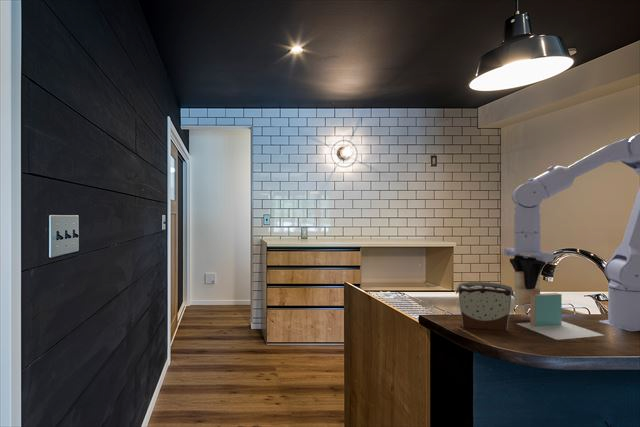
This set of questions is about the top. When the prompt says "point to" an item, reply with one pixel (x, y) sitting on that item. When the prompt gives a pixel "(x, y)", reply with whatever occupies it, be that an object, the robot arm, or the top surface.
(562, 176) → the robot arm
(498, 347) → the top surface
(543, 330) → the mat
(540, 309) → the tile
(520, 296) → the beige upright block
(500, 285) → the food container
